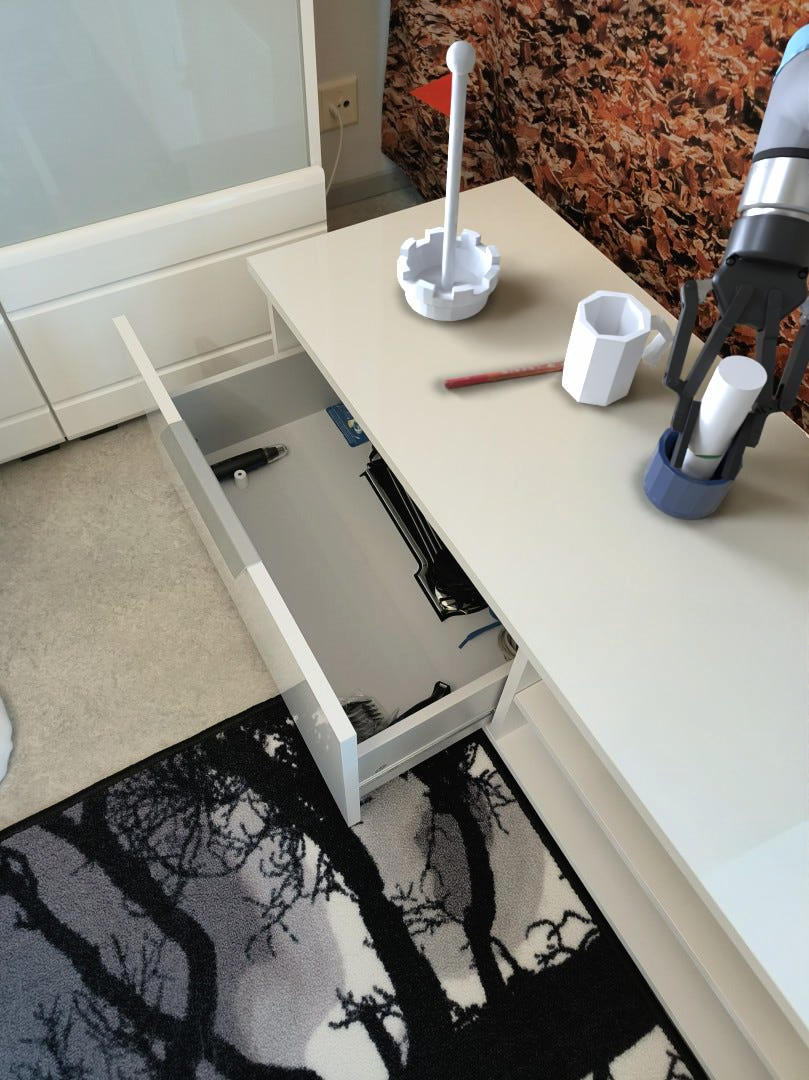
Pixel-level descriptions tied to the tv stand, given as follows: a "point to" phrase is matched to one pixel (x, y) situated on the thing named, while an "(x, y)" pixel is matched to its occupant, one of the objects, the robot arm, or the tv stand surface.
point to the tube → (722, 414)
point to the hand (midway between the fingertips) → (701, 472)
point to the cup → (682, 483)
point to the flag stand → (449, 220)
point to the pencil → (504, 375)
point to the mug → (611, 346)
